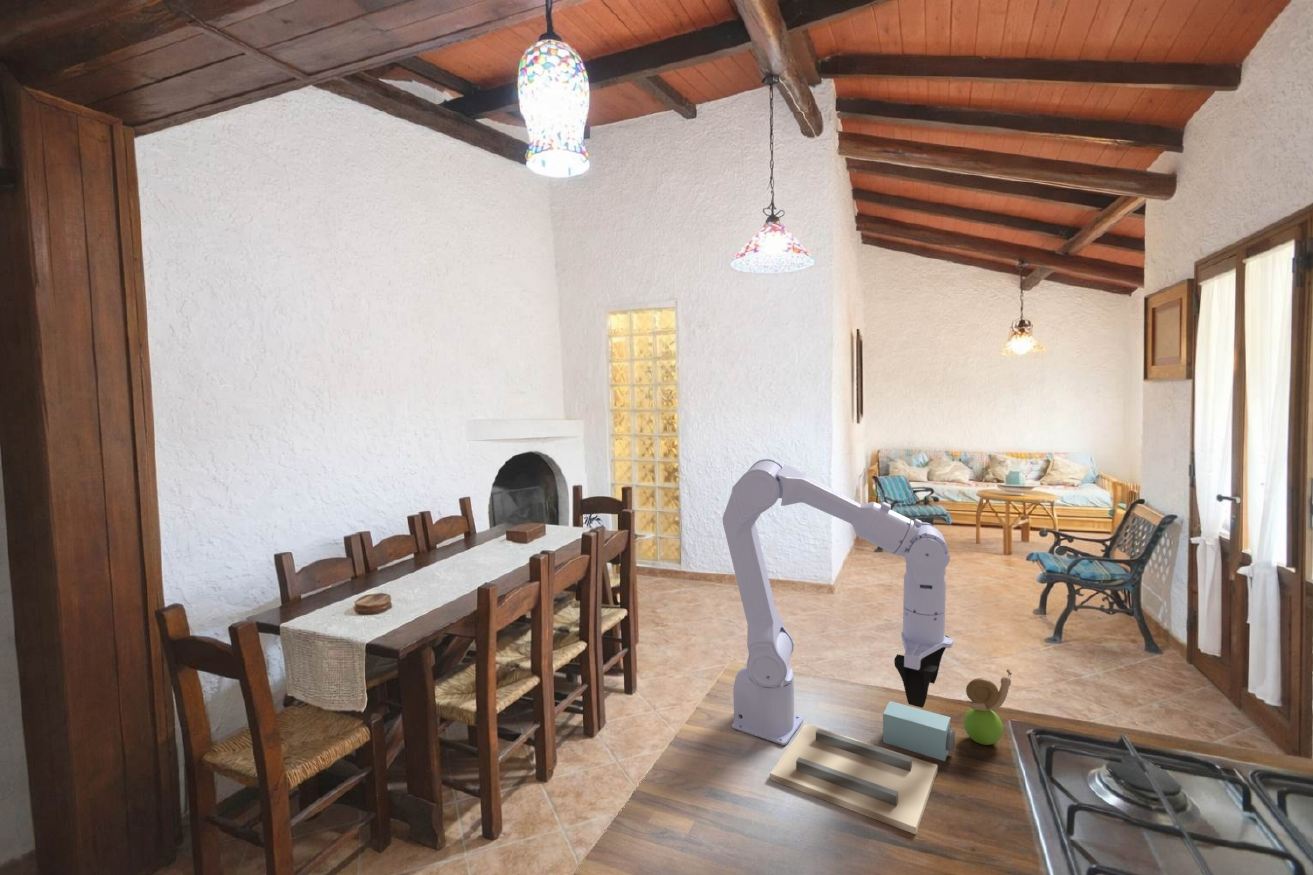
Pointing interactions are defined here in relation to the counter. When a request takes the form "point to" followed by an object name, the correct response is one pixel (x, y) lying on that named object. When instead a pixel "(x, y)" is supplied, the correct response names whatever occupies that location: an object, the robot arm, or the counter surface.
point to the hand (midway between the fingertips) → (922, 692)
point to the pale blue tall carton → (918, 730)
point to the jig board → (858, 776)
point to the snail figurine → (985, 709)
